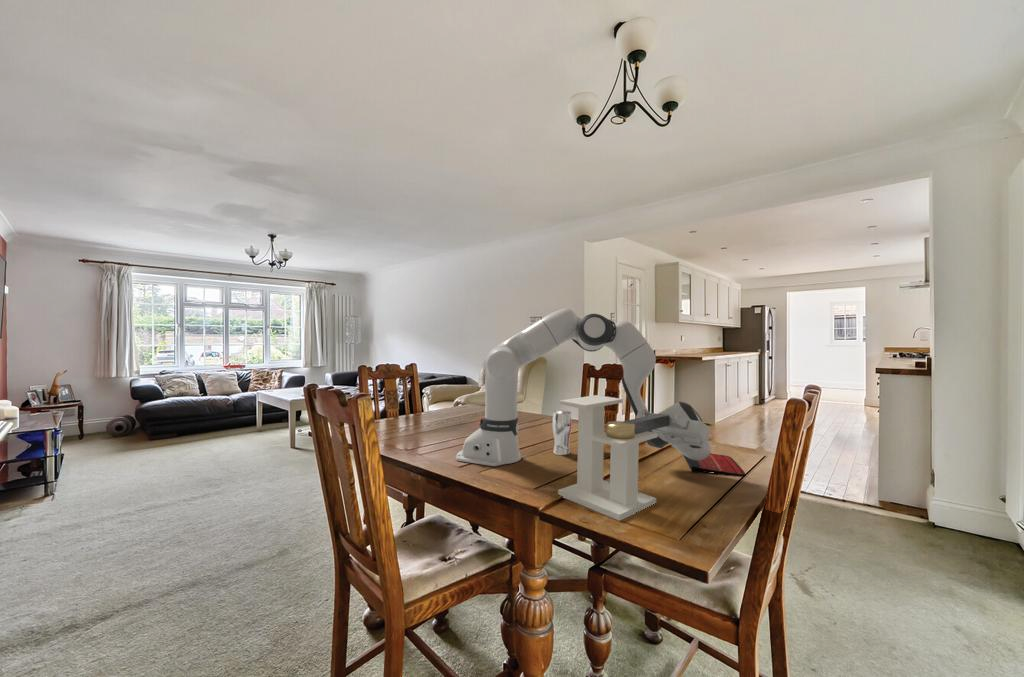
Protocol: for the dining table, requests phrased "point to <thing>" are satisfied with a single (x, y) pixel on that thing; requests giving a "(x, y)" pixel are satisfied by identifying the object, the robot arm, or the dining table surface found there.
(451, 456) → the dining table surface
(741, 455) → the dining table surface
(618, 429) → the grey and gold bar
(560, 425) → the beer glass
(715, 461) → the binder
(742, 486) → the dining table surface
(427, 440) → the dining table surface
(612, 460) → the rack
